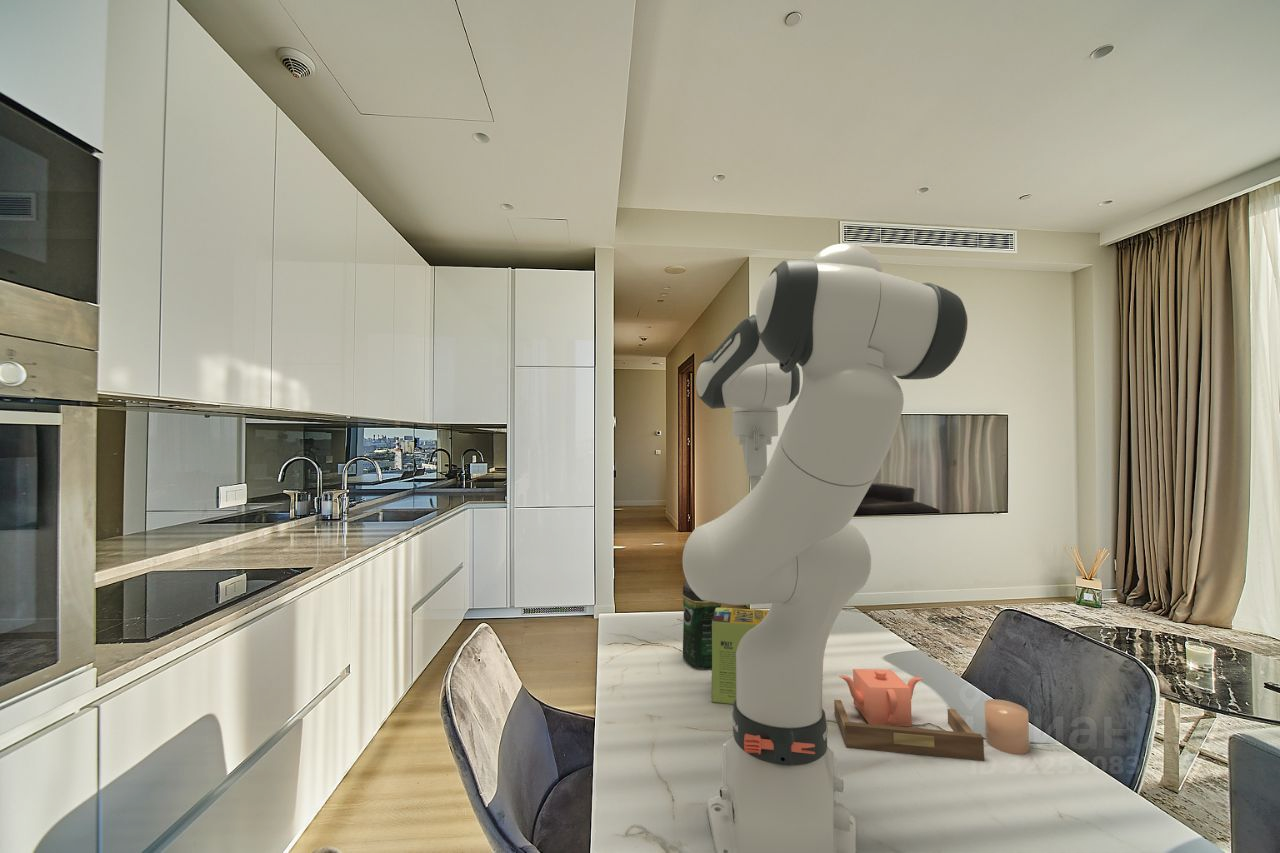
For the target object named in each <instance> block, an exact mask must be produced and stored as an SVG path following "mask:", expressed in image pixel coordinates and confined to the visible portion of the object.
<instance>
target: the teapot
mask: <svg viewBox="0 0 1280 853" xmlns="http://www.w3.org/2000/svg"><path fill="white" fill-rule="evenodd" d="M838 677H839V678H841V679H843V680H844V681H845V682H846V684H847V686H848V689H849V693H850V695H851V697H852V699H853V704H854V706H855V707H856V709H857V710H858V711H859V714H860V715H861V716H862V717H863V718H864V719H865V721H866V723H867V724H876V725H887V726H898V727H910V728H913V726H912V725H913V722H912V720H913V719H912V698H913V695H914V691H915V687H916V684H917V683H919V682H920V681H923V679H924V678H923V677H918V676H917V677H916V676H914V677H911V678H910V679H909V680H908V682H907V683H905V681H904V680H903V679H902V678H900V677H899V676H898V674H896V673H895V672H894V671H893V670H892V669H878V668H877V669H875V668H874V669H873V668H871V669H870V668H853V669H852V678H851V677H850V676H848V675H839V676H838Z"/></svg>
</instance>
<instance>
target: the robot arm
mask: <svg viewBox="0 0 1280 853" xmlns="http://www.w3.org/2000/svg"><path fill="white" fill-rule="evenodd" d="M880 264H881V263H880V262H879V260H878V259H877V258H876V257H875V256H874V254H873V253H872V252H870V251H869V250H868V249H866V248H864V247H862V246H860V245H857V244H853V243H848V242H847V243H846V242H843V243H835V244H832V245H829V246H827V247H824V248H823V249H821V251H819V252H817V253H816V254H815V255H814V256H813V257H811V258H798V259H797V258H796V259H794V258H793V259H787V260H782V261H781V262H780V263H779V264H777V266H775V267H774V268H772V271H771V272H770V274H769V276H768V278H767V279H766V280H765V283H764V284H763V286H762V287H761V290H760V291H759V294H758V298H757V302H756V309H755V314H752V315H750V316H748V317H746V318H745V319H743V320H742V321H741V322H739V323H738V324H737V325H736V327H735V328H733V330H732V331H731V332H730V333H729V335H727V336H726V338H725V339H724V340H723V341H722V342H721V344H720V345H719V346H718V347H717V348H716V350H714V351H713V352H710V353H708V355H706V356H705V357H704V358H703V359H702V360H701V361H700V363H699V365H698V368H697V371H696V378H695V387H696V394H697V397H698V398H699V399H700V400H701V401H702V402H703V403H704V404H705V405H706V406H707V407H709V408H710V409H726V408H732V436H733V437H737V438H738V444H739V446H741V445H742V451H743V453H742V454H743V459H744V466H745V471H746V475H747V476H749V483H750V491H749V493H747V495H745V496H744V497H743V498H742V499H741V500H740V501H739V502H738V503H736V504H735V505H734V506H732V507H731V508H730V509H729V510H727V511H726V512H724V513H723V514H722V515H719V516H718V517H716V518H715V519H713V520H710V521H708V522H706V523H704V524H701V525H699V526H697V527H695V529H694V530H693V531H692V532H691V533H690V534H689V536H688V538H687V540H686V542H685V544H684V547H683V551H682V552H683V553H682V570H683V574H684V577H685V580H686V581H687V582H688V584H689V586H690V587H691V589H692V590H693V592H694V593H695V594H696V595H697V596H698V597H699V598H700V599H701V600H704V601H710V602H716V603H721V605H722V604H723V605H729V606H730V605H731V606H750V605H751V606H752V605H763V604H764V605H765V604H771V605H770V608H769V612H768V614H767V615H766V616H765V618H764V619H763V620H762V621H761V622H760V623H759V624H758V625H756V626H755V627H753V628H752V629H751V630H749V631H748V632H747V633H746V634H744V636H743V637H742V638H741V640H740V642H739V645H738V647H737V651H736V700H735V701H734V704H732V706H733V707H732V712H731V714H732V715H731V721H732V736H731V737H729V739H728V740H727V741H725V742H724V743H723V744H722V759H721V760H722V764H721V765H722V768H721V769H722V771H721V772H722V773H721V776H722V778H721V781H722V782H721V784H722V785H721V786H720V789H719V794H716V795H714V796H711V797H710V798H708V800H707V803H706V811H707V817H708V821H709V825H710V830H711V836H712V842H713V846H714V852H715V853H857V822H856V818H855V816H853V815H852V814H851V813H850V809H849V807H845V806H844V804H843V803H839V802H838V798H839V797H838V795H839V794H838V792H840V793H844V779H842V778H838V757H837V755H836V754H835V753H834V752H833V751H832V750H831V749H830V747H828V723H827V718H826V717H827V716H826V711H825V709H823V680H824V679H823V677H824V675H823V671H824V659H825V651H826V646H827V644H828V639H829V637H830V634H831V631H832V629H833V626H834V624H835V622H836V620H837V618H838V616H839V615H840V613H841V612H842V610H843V608H844V607H845V605H846V604H847V603H848V602H849V601H850V599H852V597H853V596H854V595H855V594H857V593H858V592H859V591H861V590H862V589H863V588H864V586H866V583H867V582H868V579H869V576H870V574H871V569H872V557H871V551H870V547H869V544H868V542H867V540H866V539H865V537H864V535H863V534H862V533H861V531H860V530H859V529H858V528H857V527H856V526H854V525H853V524H852V523H850V521H851V520H852V519H853V518H854V515H855V514H856V512H857V510H858V508H859V506H860V505H861V503H862V502H863V499H864V498H865V496H866V494H867V493H868V491H869V490H870V489H869V488H871V486H872V484H873V482H874V481H875V478H876V477H877V475H878V474H879V471H880V469H881V468H882V466H883V464H884V461H885V459H886V457H887V455H888V453H889V451H890V448H891V446H892V443H893V441H894V439H895V436H896V433H897V431H898V426H899V423H900V419H901V416H902V413H903V409H904V393H903V390H902V387H901V385H900V384H899V381H898V380H896V378H897V379H899V380H926V379H927V380H928V379H933V378H936V377H938V376H939V375H941V374H942V373H944V371H946V370H947V369H948V368H949V367H950V366H951V365H952V364H953V363H954V361H956V359H957V357H958V356H959V353H960V352H961V350H962V348H963V345H964V343H965V340H966V336H967V331H968V324H969V323H968V314H967V311H966V308H965V306H964V303H963V300H962V299H961V297H959V295H957V294H955V293H953V291H951V290H948V289H947V288H944V287H942V286H940V285H937V284H935V283H932V282H918V281H915V280H912V279H908V278H905V277H902V276H898V275H895V274H891V273H887V272H883V269H882V267H881V265H880ZM797 364H798V365H797ZM799 366H800V367H801V371H802V383H801V374H800V373H801V372H800V368H799ZM895 377H896V378H895ZM800 384H802V385H800ZM800 387H801V388H800ZM796 398H797V400H796V402H795V405H794V406H793V408H792V410H791V413H790V414H789V416H788V418H787V420H786V423H785V425H784V427H783V429H782V431H781V432H782V433H781V434H780V437H779V439H778V442H777V445H776V447H775V449H774V451H773V454H772V456H771V458H770V461H769V462H768V449H767V447H768V446H767V445H770V446H771V445H772V444H773V443H772V438H773V437H778V436H779V411H778V408H780V407H784V406H788V405H790V404H791V403H792V402H793V401H794V400H795V399H796Z"/></svg>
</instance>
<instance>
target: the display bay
mask: <svg viewBox="0 0 1280 853" xmlns="http://www.w3.org/2000/svg"><path fill="white" fill-rule="evenodd" d="M833 700H834V701H833V702H834V703H833V704H834V706H833V707H834V712H833V713H834V716H835V719H836V722H837V725H838V728H839V730H840V733H841V735H842V739H843V741H844V744H845V747H846V748H850V749H862V750H870V751H880V752H881V751H882V752H890V753H901V754H911V755H922V756H931V757H932V756H933V757H941V758H952V759H953V758H954V759H962V760H975V761H983V762H984V761H985V746H984V745H985V744H984V743H985V742H984V741H985V740H984V737H983V735H982V734H981V733H976V732H974V731H973V730H972V728H971V727H970V726H969V725H968V723H967V722H966V721H965V719H964V718H963V717H962V716H961V715H960V714H959V713H958V711H957V710H956V709H953V708H947V724H948V725H949V727H950V728H951V729H952V730H944V729H943V730H939V729H930V728H920V727H908V726H887V725H876V724H869V723H864V722H863V723H862V722H852V721H850V719H849V717H848V715H847V711H846V710H845V706H844V704H843V701H842V700H841V699H833Z"/></svg>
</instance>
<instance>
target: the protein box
mask: <svg viewBox="0 0 1280 853" xmlns="http://www.w3.org/2000/svg"><path fill="white" fill-rule="evenodd" d="M769 610H770V609H769ZM769 610H768V609H755V608H734V607H721V608H715V613H714V617H713V619H712V668H711V702H712V703H718V704H719V703H720V704H728V705H730V704H731V705H733V704H734V701H735V700H736V651H737V647H738V645H739V642H740V640H741V638H742V637H743V636H744V634H746V633H747V632H748V631H749V630H751V629H752V628H753V627H755V626H756V625H758V624H759V623H760V622H761V621H762V620H763V619H764V618H765V616H766V615H767V614H768V612H769Z"/></svg>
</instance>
